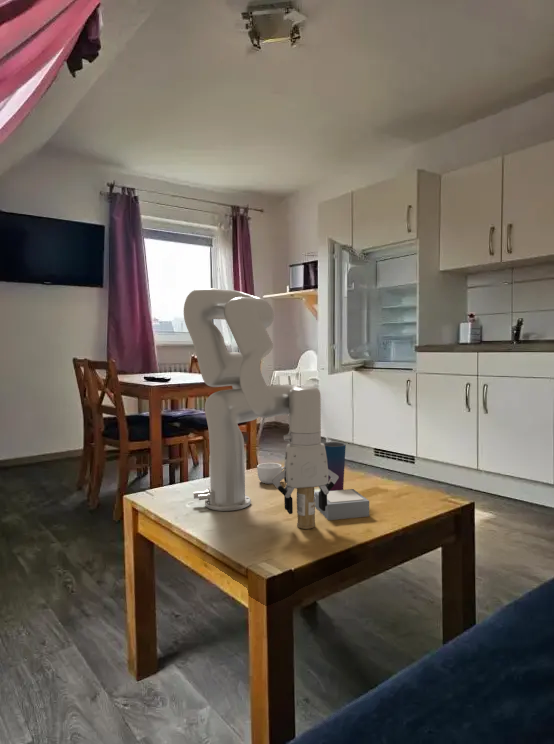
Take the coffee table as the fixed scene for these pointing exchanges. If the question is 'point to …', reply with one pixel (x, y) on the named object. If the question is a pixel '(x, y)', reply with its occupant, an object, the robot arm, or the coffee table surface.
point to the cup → (336, 462)
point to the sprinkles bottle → (306, 508)
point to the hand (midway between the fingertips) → (305, 510)
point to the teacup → (268, 471)
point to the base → (344, 504)
